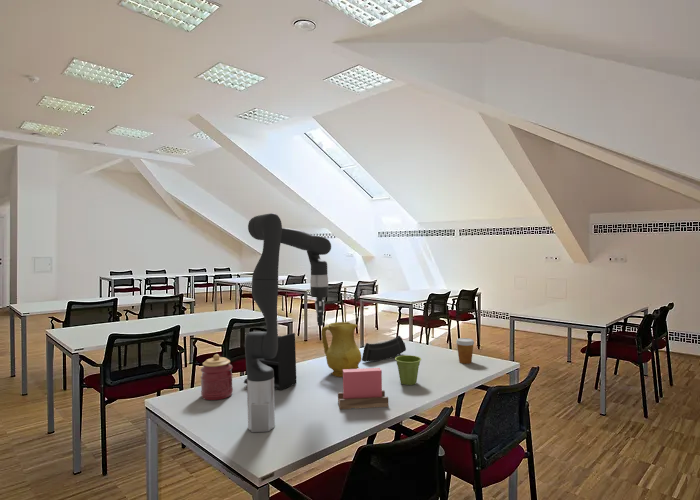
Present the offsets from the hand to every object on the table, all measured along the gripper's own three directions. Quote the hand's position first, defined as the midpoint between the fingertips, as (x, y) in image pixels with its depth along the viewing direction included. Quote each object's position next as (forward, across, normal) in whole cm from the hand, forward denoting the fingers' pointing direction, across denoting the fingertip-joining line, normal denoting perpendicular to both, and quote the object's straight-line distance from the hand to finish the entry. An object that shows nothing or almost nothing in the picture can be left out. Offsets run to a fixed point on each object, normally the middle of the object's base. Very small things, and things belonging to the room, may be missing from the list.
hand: (320, 323), depth 186 cm
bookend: (+30, +20, +23) cm, 43 cm away
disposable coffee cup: (+30, +40, -78) cm, 93 cm away
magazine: (+30, +54, -37) cm, 73 cm away
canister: (+30, +6, +44) cm, 54 cm away
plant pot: (+30, +10, -40) cm, 51 cm away
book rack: (+30, -13, -16) cm, 36 cm away
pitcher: (+30, +31, -12) cm, 45 cm away
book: (+29, -13, -16) cm, 35 cm away
